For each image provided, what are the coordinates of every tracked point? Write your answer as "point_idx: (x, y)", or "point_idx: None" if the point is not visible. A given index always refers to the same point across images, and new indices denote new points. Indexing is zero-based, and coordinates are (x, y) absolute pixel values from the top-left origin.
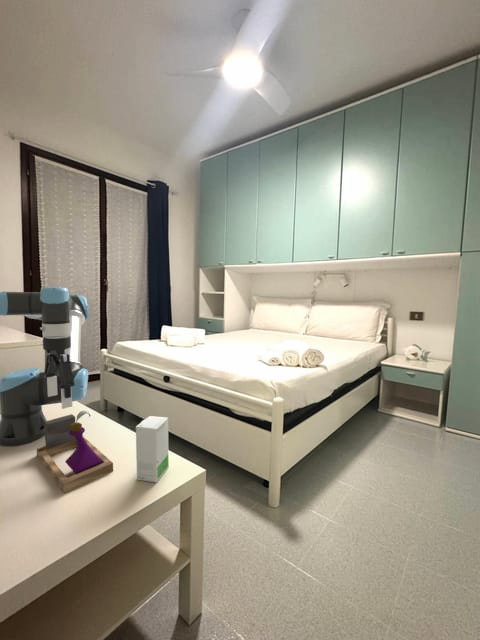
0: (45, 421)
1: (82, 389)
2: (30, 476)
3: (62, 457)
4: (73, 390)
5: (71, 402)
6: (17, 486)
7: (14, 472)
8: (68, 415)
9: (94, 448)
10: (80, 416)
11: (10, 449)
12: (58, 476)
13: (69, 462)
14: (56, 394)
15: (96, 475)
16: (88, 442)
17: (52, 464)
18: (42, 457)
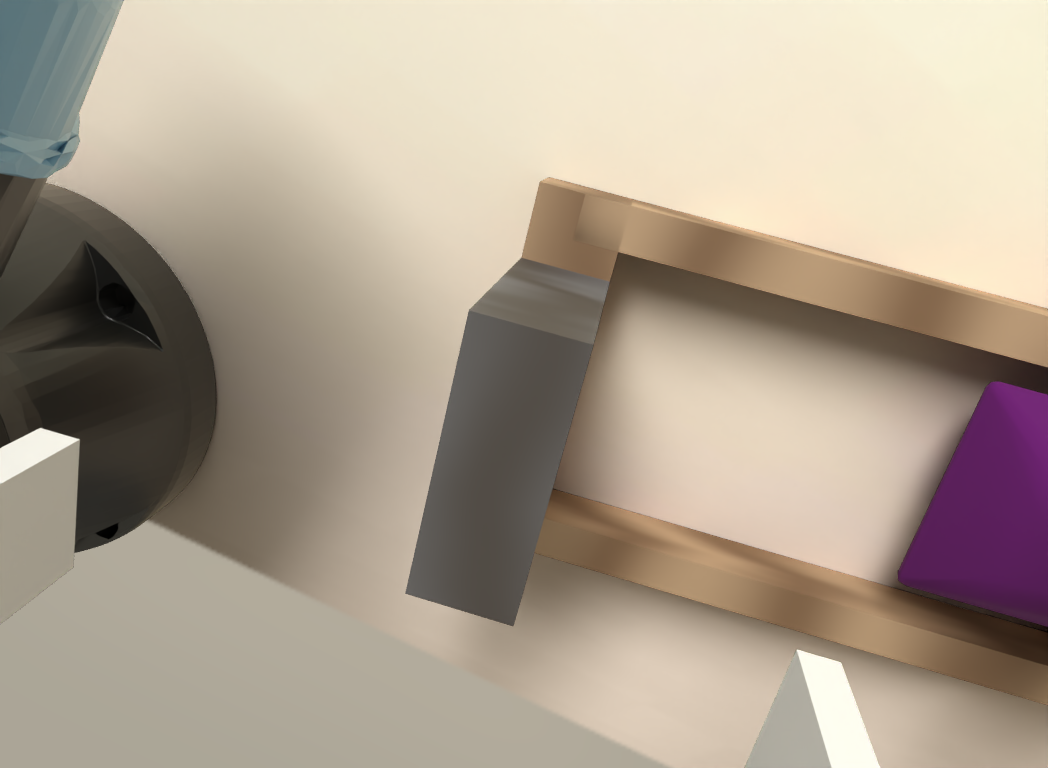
0: (412, 588)
1: None
2: (689, 655)
3: (663, 426)
4: (18, 96)
5: (854, 726)
6: (721, 737)
7: (549, 667)
8: (471, 359)
9: (933, 303)
10: None
11: (215, 525)
12: (997, 687)
13: (984, 605)
14: (70, 460)
15: None
16: (773, 255)
17: (803, 613)
18: (618, 572)
